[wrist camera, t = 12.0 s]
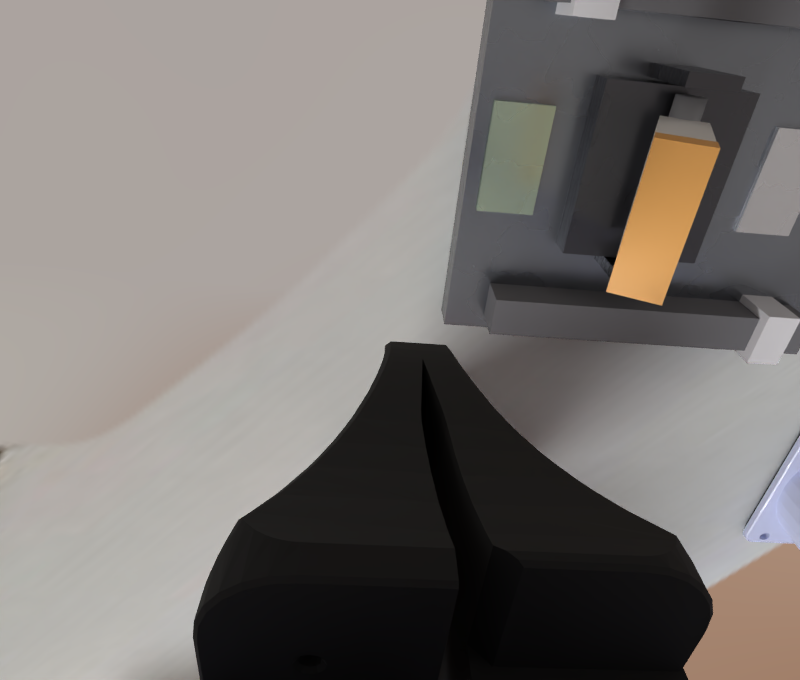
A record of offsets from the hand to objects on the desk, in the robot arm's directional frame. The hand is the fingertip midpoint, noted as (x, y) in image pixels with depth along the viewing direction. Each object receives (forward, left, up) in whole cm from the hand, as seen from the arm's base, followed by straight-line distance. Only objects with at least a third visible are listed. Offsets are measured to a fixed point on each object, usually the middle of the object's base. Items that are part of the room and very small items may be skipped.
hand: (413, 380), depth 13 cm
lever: (-8, -3, -7) cm, 11 cm away
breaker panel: (-10, -3, -10) cm, 14 cm away
